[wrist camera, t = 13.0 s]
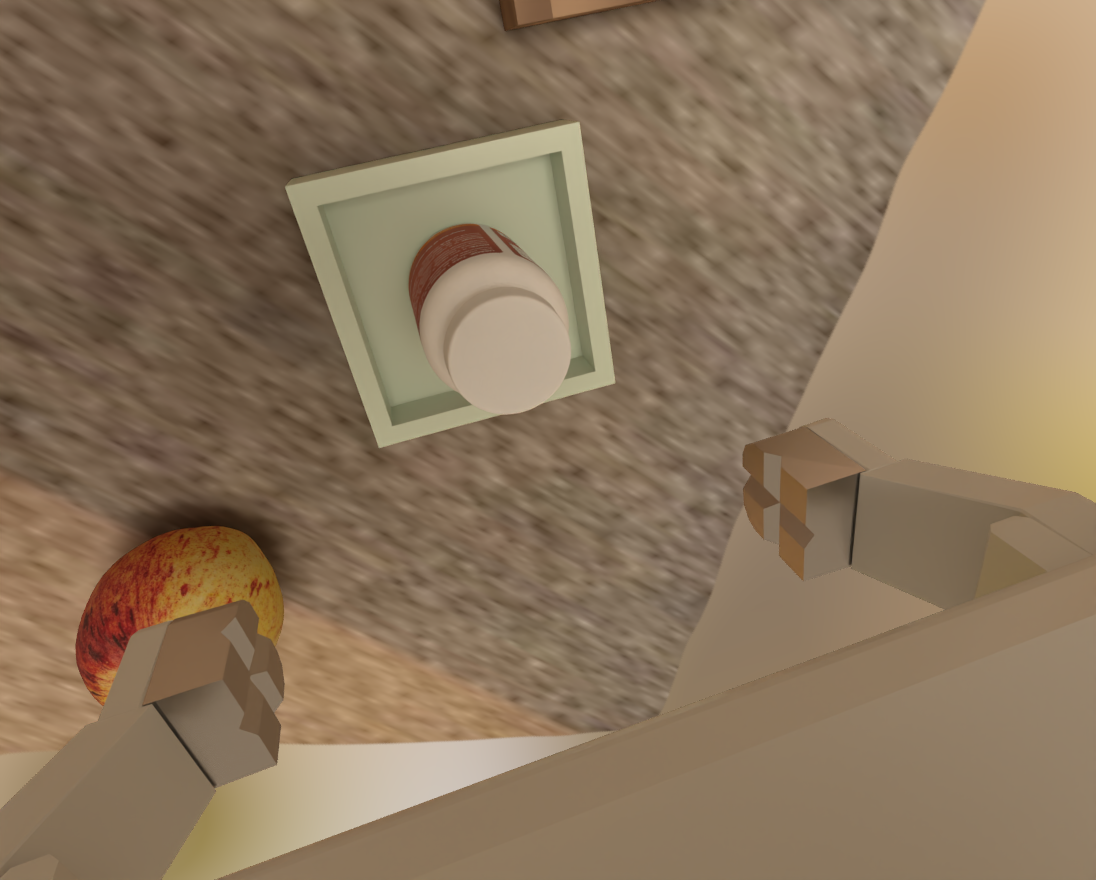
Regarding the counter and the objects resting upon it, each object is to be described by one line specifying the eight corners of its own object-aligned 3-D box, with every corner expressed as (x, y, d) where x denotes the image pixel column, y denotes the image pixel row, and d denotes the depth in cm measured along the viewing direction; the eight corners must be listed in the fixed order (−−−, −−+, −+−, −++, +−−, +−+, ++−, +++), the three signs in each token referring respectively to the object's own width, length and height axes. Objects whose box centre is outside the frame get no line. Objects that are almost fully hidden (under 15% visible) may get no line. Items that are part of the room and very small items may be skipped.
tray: (377, 422, 36) (378, 448, 34) (291, 178, 30) (284, 186, 27) (598, 363, 38) (615, 383, 35) (562, 119, 32) (579, 121, 29)
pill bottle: (400, 332, 34) (413, 426, 24) (415, 209, 31) (437, 260, 22) (515, 347, 36) (570, 440, 26) (539, 233, 33) (609, 289, 24)
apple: (144, 470, 35) (71, 595, 26) (315, 515, 38) (301, 637, 30) (103, 600, 37) (25, 751, 29) (266, 630, 41) (240, 772, 33)
